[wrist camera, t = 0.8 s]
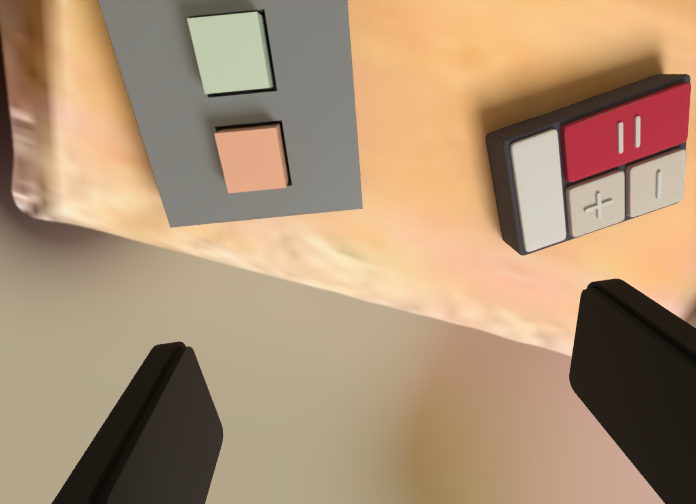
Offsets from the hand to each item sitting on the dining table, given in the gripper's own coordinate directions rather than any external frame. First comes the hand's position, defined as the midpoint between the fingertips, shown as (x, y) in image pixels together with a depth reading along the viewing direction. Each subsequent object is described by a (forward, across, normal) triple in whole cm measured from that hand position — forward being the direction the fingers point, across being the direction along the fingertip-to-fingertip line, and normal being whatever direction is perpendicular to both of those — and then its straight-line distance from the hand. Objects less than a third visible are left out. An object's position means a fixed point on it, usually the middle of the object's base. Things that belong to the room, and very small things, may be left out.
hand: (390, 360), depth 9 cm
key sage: (+23, +6, -9) cm, 26 cm away
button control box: (+26, -21, +3) cm, 34 cm away
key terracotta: (+24, +7, -2) cm, 25 cm away
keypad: (+26, +6, -9) cm, 28 cm away
